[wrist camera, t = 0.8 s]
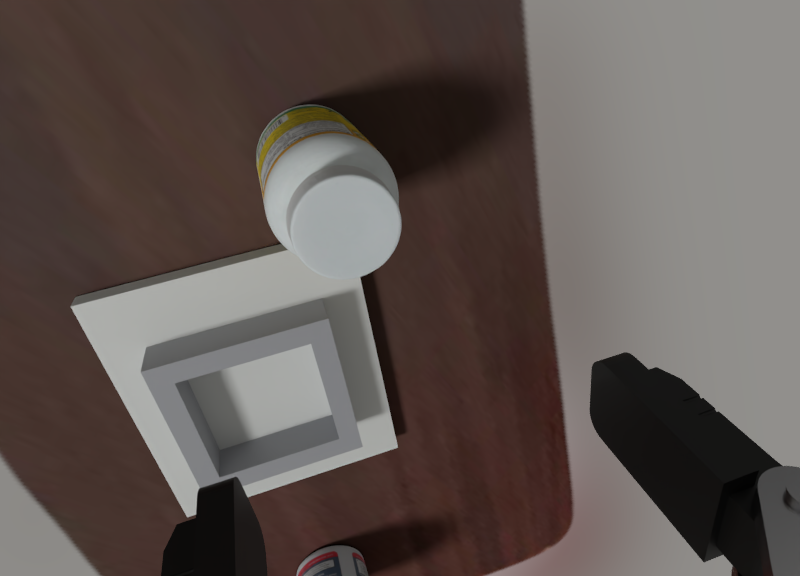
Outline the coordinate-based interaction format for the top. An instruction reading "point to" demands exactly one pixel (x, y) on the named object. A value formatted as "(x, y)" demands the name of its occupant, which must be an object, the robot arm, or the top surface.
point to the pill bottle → (334, 562)
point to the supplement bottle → (328, 192)
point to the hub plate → (243, 370)
